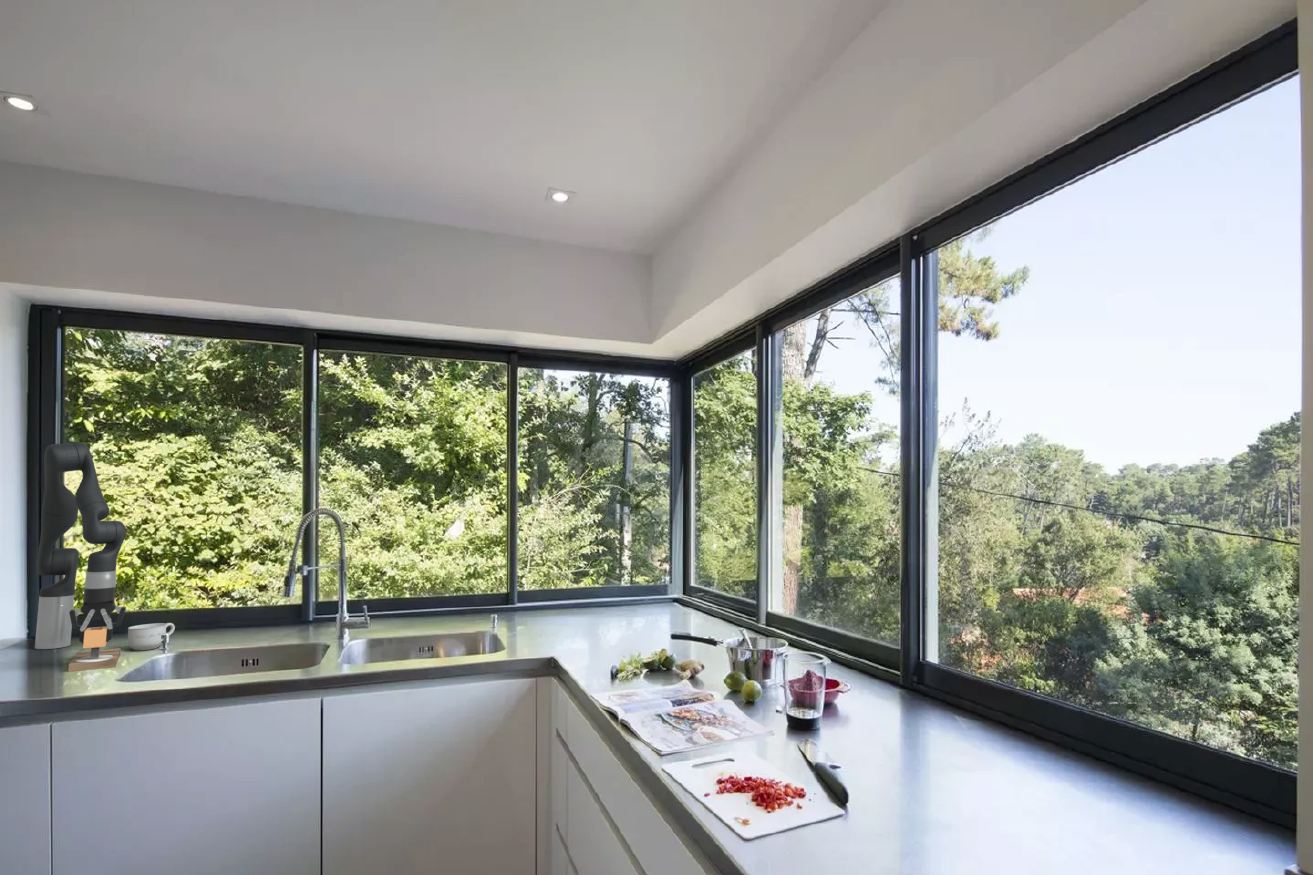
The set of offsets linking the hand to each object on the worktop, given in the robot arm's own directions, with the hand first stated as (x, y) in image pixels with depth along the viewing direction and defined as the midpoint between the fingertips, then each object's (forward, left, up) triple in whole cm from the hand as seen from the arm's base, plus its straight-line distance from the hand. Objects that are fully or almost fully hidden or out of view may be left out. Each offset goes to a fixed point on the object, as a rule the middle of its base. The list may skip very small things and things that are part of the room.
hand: (95, 642), depth 215 cm
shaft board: (-5, 0, -7) cm, 9 cm away
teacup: (-22, +14, -7) cm, 27 cm away
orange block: (0, 0, -1) cm, 1 cm away
